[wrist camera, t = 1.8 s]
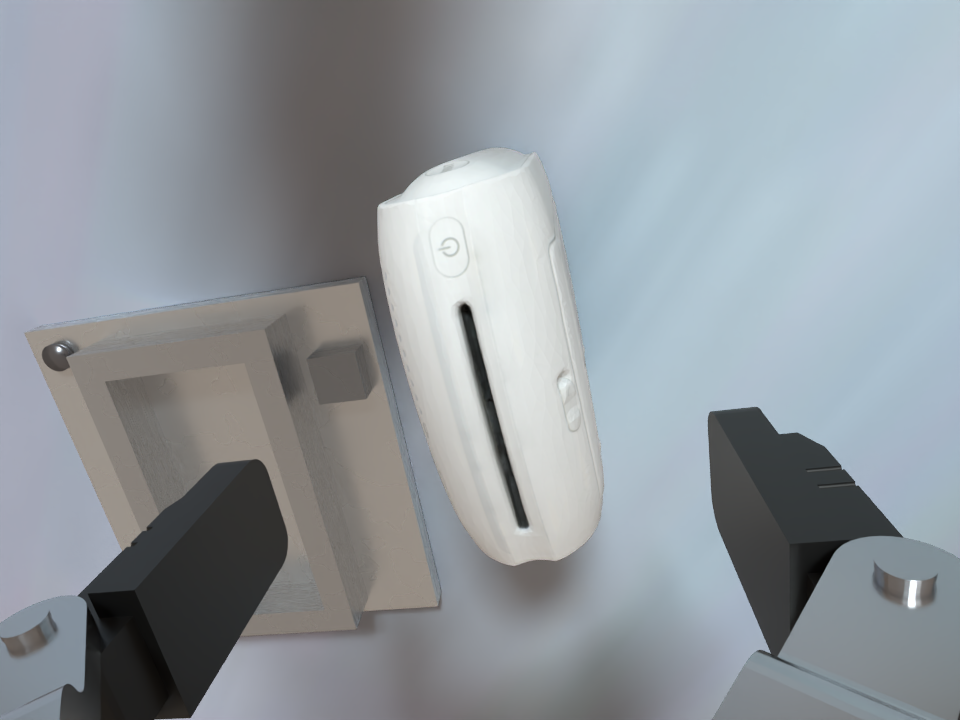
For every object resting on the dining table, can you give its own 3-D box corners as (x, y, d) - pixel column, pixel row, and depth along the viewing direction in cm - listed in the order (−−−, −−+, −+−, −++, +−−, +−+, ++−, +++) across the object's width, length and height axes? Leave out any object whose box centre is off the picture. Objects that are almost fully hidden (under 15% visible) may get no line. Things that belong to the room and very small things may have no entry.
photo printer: (429, 160, 23) (315, 200, 12) (542, 130, 22) (538, 142, 11) (493, 404, 27) (454, 621, 15) (593, 386, 26) (631, 600, 14)
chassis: (42, 325, 27) (-16, 348, 25) (365, 276, 25) (343, 296, 22) (166, 610, 33) (131, 655, 30) (441, 591, 30) (430, 638, 28)
